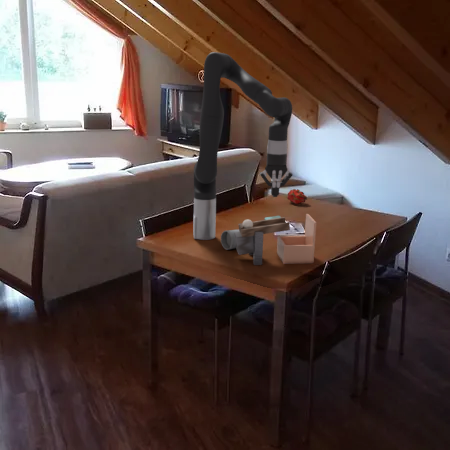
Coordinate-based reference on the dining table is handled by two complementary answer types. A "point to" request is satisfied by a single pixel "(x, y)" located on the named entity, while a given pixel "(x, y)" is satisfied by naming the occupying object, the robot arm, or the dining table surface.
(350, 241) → the dining table surface
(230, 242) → the ceramic mug
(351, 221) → the dining table surface
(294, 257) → the cup
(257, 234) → the pivot stand
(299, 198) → the dragon fruit
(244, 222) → the ball
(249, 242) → the lever board
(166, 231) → the dining table surface
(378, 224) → the dining table surface
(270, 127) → the robot arm
